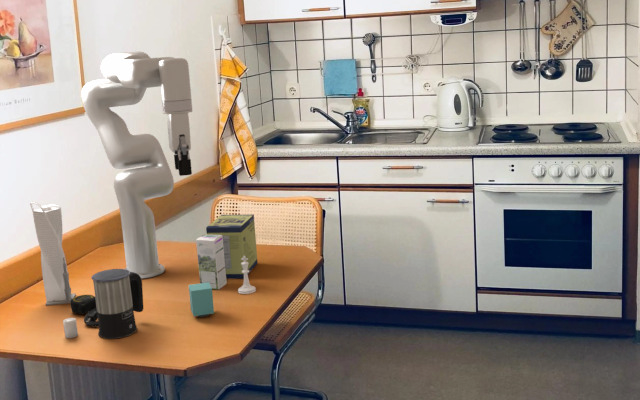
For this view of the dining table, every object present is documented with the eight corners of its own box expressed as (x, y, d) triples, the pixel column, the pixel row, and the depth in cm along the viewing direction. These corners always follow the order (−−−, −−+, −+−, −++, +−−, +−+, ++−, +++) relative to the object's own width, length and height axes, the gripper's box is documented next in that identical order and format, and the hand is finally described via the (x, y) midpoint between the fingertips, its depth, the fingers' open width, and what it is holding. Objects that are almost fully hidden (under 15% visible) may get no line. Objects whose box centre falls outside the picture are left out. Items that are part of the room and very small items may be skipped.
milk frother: (127, 340, 193) (120, 280, 190) (66, 338, 196) (58, 280, 193) (150, 318, 207) (144, 262, 203) (93, 317, 210) (86, 262, 206)
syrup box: (227, 283, 231) (223, 234, 227) (218, 290, 225) (213, 239, 222) (209, 282, 233) (204, 233, 229) (199, 289, 227) (195, 239, 224)
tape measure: (83, 317, 210) (82, 304, 209) (65, 313, 214) (64, 300, 213) (103, 309, 216) (102, 296, 215) (86, 305, 219) (84, 292, 219)
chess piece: (253, 294, 220) (250, 258, 218) (235, 293, 221) (232, 258, 219) (258, 288, 225) (255, 253, 223) (241, 288, 226) (238, 253, 224)
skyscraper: (40, 306, 220) (26, 205, 214) (45, 296, 228) (32, 199, 222) (72, 302, 222) (59, 202, 216) (76, 293, 229) (64, 196, 223)
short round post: (65, 334, 199) (63, 319, 198) (78, 332, 199) (76, 317, 199) (65, 338, 196) (62, 323, 195) (77, 337, 197) (75, 321, 196)
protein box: (258, 263, 249) (254, 213, 245) (244, 279, 234) (240, 226, 230) (225, 263, 251) (221, 214, 247) (209, 279, 236) (205, 227, 232)
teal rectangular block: (190, 309, 208) (188, 284, 207) (211, 306, 210) (209, 282, 208) (193, 316, 203) (191, 291, 202) (214, 313, 205) (211, 288, 203)
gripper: (159, 105, 218) (166, 168, 221) (165, 111, 201) (172, 179, 205) (188, 102, 220) (193, 165, 223) (196, 108, 203) (202, 176, 207)
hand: (183, 171), depth 214 cm, fingers open, 9 cm apart
